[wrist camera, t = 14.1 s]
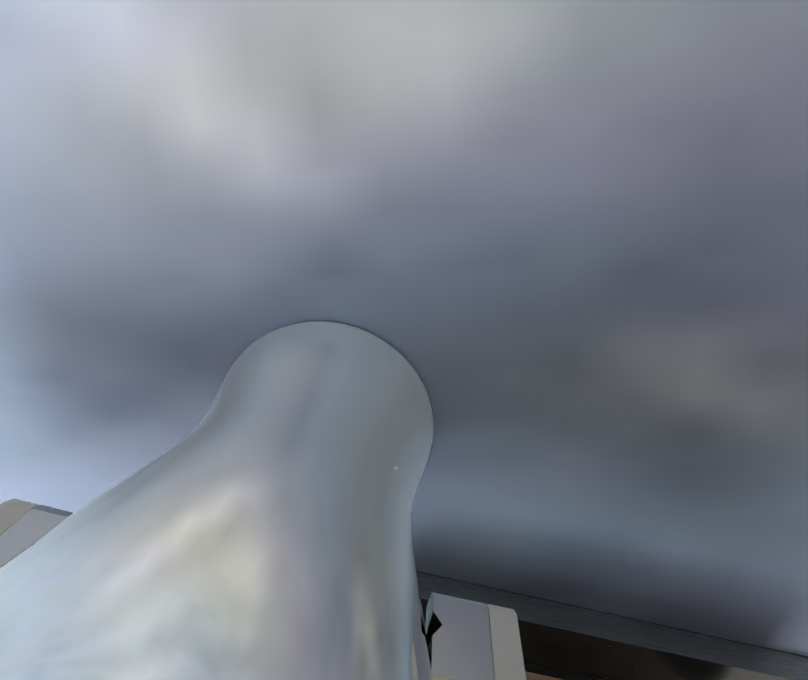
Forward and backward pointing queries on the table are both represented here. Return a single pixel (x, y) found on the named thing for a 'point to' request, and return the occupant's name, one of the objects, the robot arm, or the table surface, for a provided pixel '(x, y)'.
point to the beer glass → (246, 535)
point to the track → (620, 641)
